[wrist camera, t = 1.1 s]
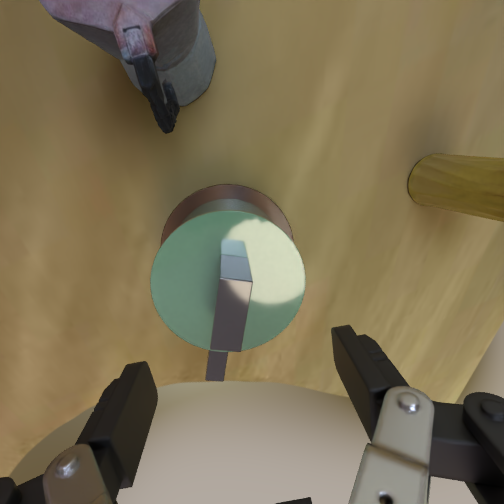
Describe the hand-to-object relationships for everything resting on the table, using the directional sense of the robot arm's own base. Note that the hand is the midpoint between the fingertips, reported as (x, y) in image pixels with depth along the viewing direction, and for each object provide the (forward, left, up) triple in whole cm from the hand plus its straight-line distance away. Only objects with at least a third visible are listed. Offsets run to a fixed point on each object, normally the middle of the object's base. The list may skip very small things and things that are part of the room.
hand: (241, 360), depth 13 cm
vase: (+23, +9, -24) cm, 35 cm away
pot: (0, -6, -23) cm, 24 cm away
